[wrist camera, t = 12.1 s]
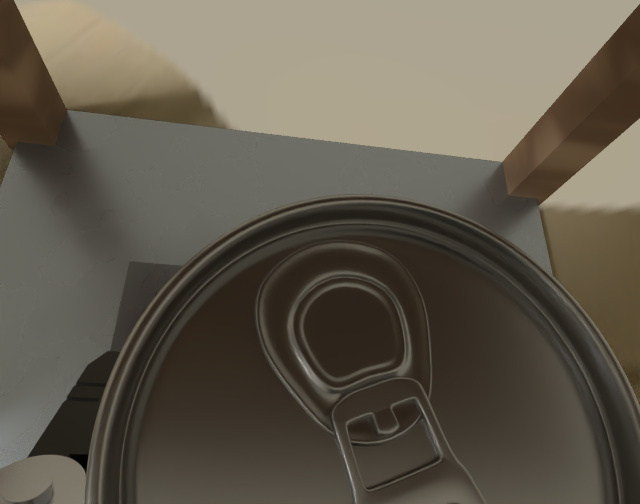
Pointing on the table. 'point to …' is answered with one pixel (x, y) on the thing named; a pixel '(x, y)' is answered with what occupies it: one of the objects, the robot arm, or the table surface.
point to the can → (365, 372)
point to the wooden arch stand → (519, 166)
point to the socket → (172, 231)
